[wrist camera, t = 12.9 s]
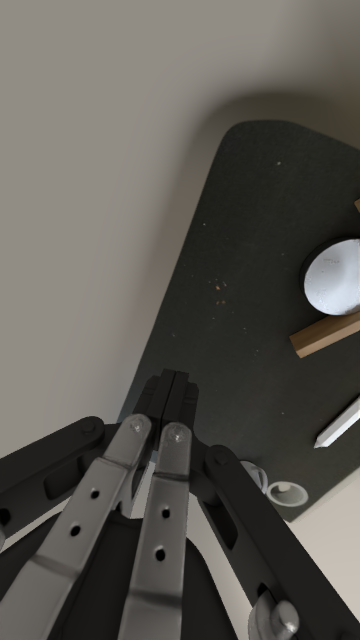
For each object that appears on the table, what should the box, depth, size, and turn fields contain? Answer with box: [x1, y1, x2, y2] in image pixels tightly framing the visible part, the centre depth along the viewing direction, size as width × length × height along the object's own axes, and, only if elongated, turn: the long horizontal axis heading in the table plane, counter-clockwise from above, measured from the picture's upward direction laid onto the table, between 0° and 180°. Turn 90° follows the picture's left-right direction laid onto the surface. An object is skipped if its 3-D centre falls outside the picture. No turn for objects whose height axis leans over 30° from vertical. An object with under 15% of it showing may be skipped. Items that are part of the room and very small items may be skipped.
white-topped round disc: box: [299, 237, 360, 315], centre depth 36 cm, size 11×11×3 cm
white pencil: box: [314, 396, 360, 448], centre depth 47 cm, size 3×2×16 cm
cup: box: [240, 461, 268, 494], centre depth 54 cm, size 8×10×8 cm
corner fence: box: [289, 199, 360, 358], centre depth 35 cm, size 15×18×5 cm
